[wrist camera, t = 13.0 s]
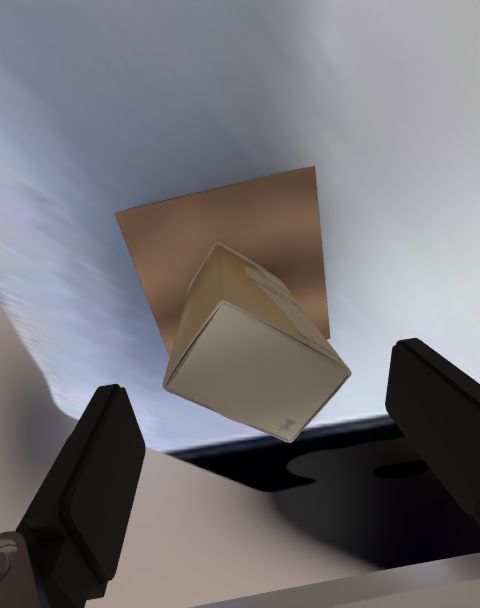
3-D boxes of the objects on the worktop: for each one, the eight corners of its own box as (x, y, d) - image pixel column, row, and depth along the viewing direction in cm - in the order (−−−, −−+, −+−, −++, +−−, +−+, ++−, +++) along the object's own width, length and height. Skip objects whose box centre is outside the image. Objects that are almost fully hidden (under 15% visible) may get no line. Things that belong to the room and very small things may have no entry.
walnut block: (133, 207, 23) (114, 213, 19) (294, 169, 23) (314, 166, 19) (181, 345, 29) (176, 375, 24) (311, 314, 29) (330, 338, 24)
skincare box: (283, 279, 22) (363, 375, 11) (252, 322, 23) (296, 449, 12) (213, 235, 20) (221, 296, 9) (183, 284, 21) (158, 393, 10)
